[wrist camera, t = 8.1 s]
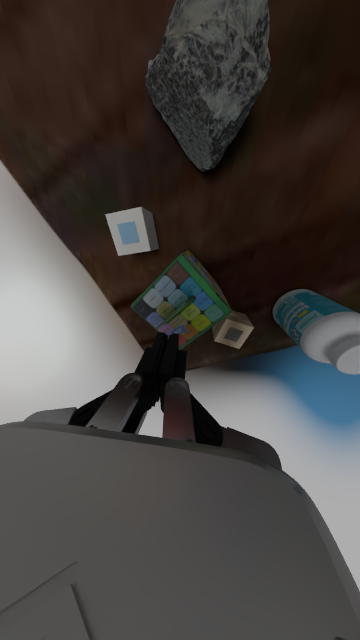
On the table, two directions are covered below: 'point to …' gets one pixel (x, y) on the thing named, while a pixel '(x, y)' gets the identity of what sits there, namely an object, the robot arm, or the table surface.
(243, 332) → the marked block beech
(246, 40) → the stone
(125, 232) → the marked block white
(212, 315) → the chalk box
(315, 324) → the pill bottle
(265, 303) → the table surface
